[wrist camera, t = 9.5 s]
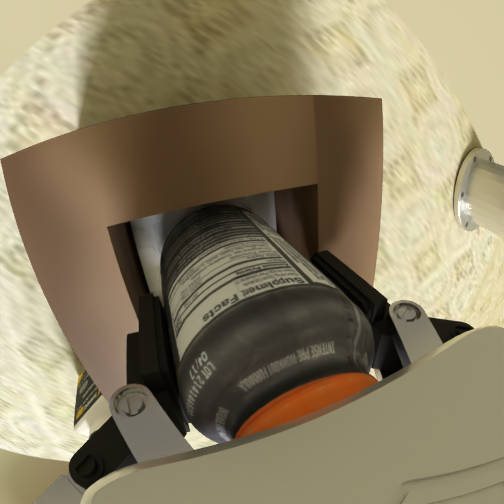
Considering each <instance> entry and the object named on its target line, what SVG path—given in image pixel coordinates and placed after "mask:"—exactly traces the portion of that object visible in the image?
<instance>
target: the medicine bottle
mask: <svg viewBox="0 0 504 504" xmlns="http://www.w3.org/2000/svg"><path fill="white" fill-rule="evenodd" d="M111 416H112V414H111V412H110V409H109V403H108V402H107V400H106V399H105V398H104V396H103V395H102V393H101V392H100V390H99V389H98V388H97V386H96V385H95V383H94V382H93V380H92V379H91V377H90V376H89V374H88V373H87V371H86V369H85V370H84V371H83V372H82V374H81V375H80V376H79V378H78V386H77V395H76V405H75V417H74V430H75V431H76V432H79V433H81V434H84V435H86V436H89V439H90V438H91V436H92V435H93V434H94V433H95V432H96V431H97V430H98V429H99V428H100V427H101V426H102V425H103V424H104V423H105V422H106V421H107V420H108V419H109V418H110V417H111Z"/></svg>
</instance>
